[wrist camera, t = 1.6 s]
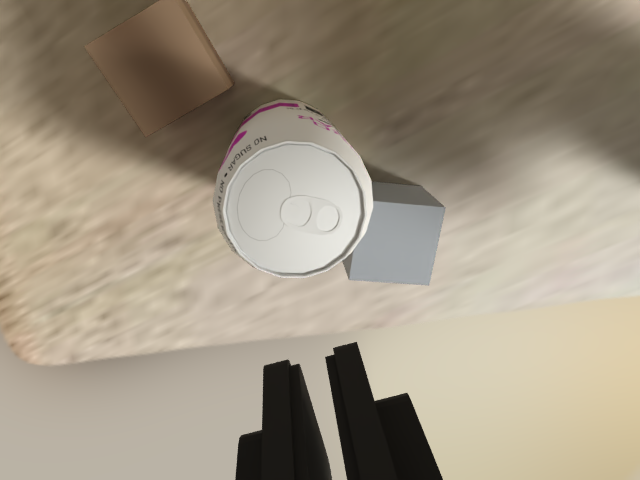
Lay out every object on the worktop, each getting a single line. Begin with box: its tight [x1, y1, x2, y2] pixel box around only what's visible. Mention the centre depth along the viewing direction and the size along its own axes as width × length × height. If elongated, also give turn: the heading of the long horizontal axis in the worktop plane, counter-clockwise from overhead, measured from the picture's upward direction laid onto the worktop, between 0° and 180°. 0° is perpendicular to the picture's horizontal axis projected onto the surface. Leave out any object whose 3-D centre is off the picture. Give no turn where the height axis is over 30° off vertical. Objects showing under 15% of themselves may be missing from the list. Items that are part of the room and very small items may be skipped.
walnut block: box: [84, 0, 234, 137], centre depth 32 cm, size 6×6×6 cm
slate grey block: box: [342, 181, 446, 285], centre depth 38 cm, size 6×6×6 cm
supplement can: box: [213, 99, 373, 278], centre depth 31 cm, size 8×8×15 cm
